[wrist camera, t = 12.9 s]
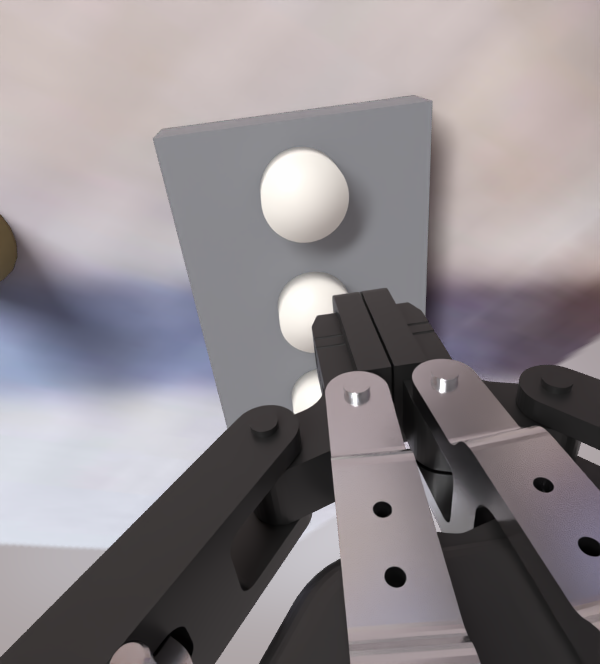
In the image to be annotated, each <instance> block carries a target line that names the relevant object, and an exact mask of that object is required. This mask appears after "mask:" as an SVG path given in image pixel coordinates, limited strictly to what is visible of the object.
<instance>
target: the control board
mask: <svg viewBox="0 0 600 664" xmlns="http://www.w3.org/2000/svg"><path fill="white" fill-rule="evenodd" d="M431 129H432V101H431V100H428V99H425V98H421V97H418V96H415V95H413V96H405V97H398V98H390V99H383V100H375V101H368V102H361V103H353V104H346V105H338V106H331V107H323V108H316V109H308V110H301V111H293V112H286V113H279V114H271V115H264V116H256V117H249V118H241V119H234V120H226V121H219V122H211V123H204V124H197V125H189V126H182V127H174V128H167V129H162V130H161V131H160V132H159V133H158V134H157V135H156V136H155V137H154V138H153V141H154V145H155V149H156V153H157V157H158V161H159V165H160V168H161V172H162V176H163V180H164V184H165V188H166V192H167V196H168V199H169V203H170V207H171V211H172V215H173V219H174V223H175V227H176V231H177V234H178V238H179V242H180V246H181V250H182V254H183V258H184V262H185V266H186V269H187V273H188V277H189V281H190V285H191V289H192V293H193V297H194V301H195V304H196V308H197V312H198V316H199V320H200V324H201V328H202V332H203V336H204V339H205V343H206V347H207V351H208V355H209V359H210V363H211V367H212V370H213V374H214V378H215V382H216V386H217V390H218V394H219V398H220V402H221V405H222V409H223V413H224V417H225V421H226V425H227V429H228V428H229V427H230V426H231V425H232V424H233V423H234V422H235V421H236V420H237V419H238V418H239V417H240V416H241V415H242V414H244V413H245V412H247V411H249V410H251V409H253V408H256V407H259V406H264V405H278V406H282V407H285V408H287V409H289V410H291V411H292V412H293V413H294V411H293V404H292V390H293V387H294V385H295V383H296V382H297V381H298V379H299V378H301V377H302V376H303V375H304V374H306V373H308V372H310V371H312V370H315V369H317V368H316V360H315V353H309V352H304V351H301V350H298V349H297V348H295V347H293V346H292V345H291V344H289V343H288V342H287V340H286V339H285V338H284V336H283V334H282V332H281V328H280V321H279V313H278V300H279V296H280V293H281V292H282V290H283V288H284V287H285V286H286V284H287V283H288V282H290V281H291V280H292V279H293V278H295V277H297V276H299V275H301V274H304V273H308V272H324V273H328V274H330V275H333V276H334V277H336V278H338V279H339V280H340V281H341V282H342V283H343V284H344V286H345V287H346V289H347V291H348V293H353V292H359V293H360V291H366V290H373V289H380V288H387V289H388V290H389V292H390V294H391V296H392V298H393V299H394V301H395V303H396V304H399V303H406V302H409V303H410V304H412V305H414V306H415V307H417V308H418V309H420V310H422V312H423V314H424V315H425V309H426V279H427V249H428V219H429V189H430V159H431ZM294 147H310V148H314V149H317V150H319V151H321V152H323V153H324V154H326V155H327V156H328V157H329V158H330V159H331V160H332V161H333V162H334V163H335V165H336V166H337V167H338V169H339V170H340V171H341V173H342V174H343V176H344V178H345V180H346V182H347V186H348V190H349V204H348V209H347V212H346V214H345V217H344V219H343V220H342V222H341V223H340V225H339V226H338V227H337V228H336V229H335V230H334V231H333V232H332V233H331V234H329V235H328V236H326V237H325V238H322V239H320V240H317V241H314V242H308V243H299V242H293V241H290V240H287V239H285V238H283V237H281V236H280V235H278V234H277V233H276V232H275V231H274V230H273V229H272V228H271V227H270V225H269V224H268V223H267V221H266V219H265V217H264V214H263V210H262V205H261V195H260V184H261V179H262V175H263V173H264V171H265V169H266V167H267V165H268V164H269V163H270V162H271V160H272V159H273V158H274V157H276V156H277V155H278V154H280V153H281V152H283V151H285V150H287V149H290V148H294Z"/></svg>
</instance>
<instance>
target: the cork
mask: <svg viewBox="0 0 600 664" xmlns="http://www.w3.org/2000/svg"><path fill="white" fill-rule="evenodd" d="M16 259H17V244H16V240H15V238H14V236H13V233H12V231H11V228H10V227H9V225H8V224H7V223H6V221H5V220H4V219H3V218H2V216H1V215H0V281H2V280H4V279H5V278H6V276H7V275H8V274H9V273H10V272H11V271H12V270H13V268H14V265H15V262H16Z"/></svg>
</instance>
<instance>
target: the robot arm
mask: <svg viewBox="0 0 600 664" xmlns="http://www.w3.org/2000/svg"><path fill="white" fill-rule="evenodd" d="M332 303H333V313H331V314H324V315H317V316H316V318H315V320H314V323H313V325H312V335H313V343H314V352H315V360H316V368H317V374H318V379H319V384H320V389H321V393H322V396H321V398H320V399H319V400H318V401H317V402H316V403H315V404H314V405H313V406H311V407H309V408H308V409H306V410H304V411H301V412H299V413H296V414H294V413H293V412H292V411H291V410H289V409H287V408H285V407H282V406H278V405H264V406H259V407H256V408H253V409H251V410H249V411H247V412H245V413H244V414H242V415H241V416H240V417H239V418H238V419H237V420H236V421H235V422H234V423H233V424H232V425H231V426H230V427H229V428H228V429H227V430H226V431H225V432H224V433H223V434H222V435H221V436H220V437H219V438H218V439H217V440H216V441H215V442H214V443H213V444H212V445H211V446H210V447H209V448H208V449H207V450H206V451H205V452H204V453H203V454H202V455H201V456H200V457H199V458H198V459H197V460H196V461H195V462H194V463H193V464H192V465H191V466H190V467H189V468H188V469H187V470H186V471H185V472H184V473H183V474H182V475H181V476H180V477H179V478H178V479H177V480H176V481H175V482H174V483H173V484H172V485H171V486H170V487H169V488H168V489H167V490H166V491H165V492H164V493H163V494H162V495H161V496H160V497H159V498H158V499H157V500H156V501H155V502H154V503H153V504H152V505H151V506H150V507H149V508H148V509H147V510H146V511H145V512H144V513H143V514H142V515H141V516H140V517H139V518H138V519H137V520H136V521H135V522H134V523H133V524H132V525H131V526H130V527H129V528H128V529H127V530H126V531H125V532H124V533H123V534H122V535H121V536H120V537H119V538H118V540H117V541H116V542H115V543H114V544H113V545H112V546H111V547H110V548H109V549H108V550H107V551H106V552H105V553H104V554H103V555H102V556H101V557H100V558H99V559H98V560H97V561H96V562H95V563H94V564H93V565H92V566H91V567H90V568H89V569H88V570H87V571H86V572H85V573H84V574H83V575H82V576H81V577H80V578H79V579H78V580H77V581H76V582H75V583H74V584H73V585H72V586H71V587H70V588H69V589H68V590H67V591H66V592H65V593H64V594H63V595H62V596H61V597H60V598H59V599H58V600H57V601H56V602H55V603H54V604H53V605H52V606H51V607H50V608H49V609H48V610H47V611H46V612H45V613H44V614H43V615H42V616H41V617H40V618H39V619H38V620H37V621H36V622H35V623H34V624H33V625H32V626H31V627H30V628H29V629H28V630H27V631H26V632H25V633H24V634H23V635H22V636H21V637H20V638H19V639H18V640H17V641H16V642H15V643H14V644H13V645H12V646H11V647H10V648H9V649H8V650H7V651H6V652H5V653H4V654H3V655H2V656H1V657H0V664H215V662H216V661H217V660H218V658H219V657H220V655H221V653H222V652H223V651H224V649H225V648H226V646H227V645H228V643H229V642H230V640H231V639H232V637H233V636H234V634H235V633H236V631H237V630H238V628H239V627H240V625H241V624H242V622H243V621H244V620H245V618H246V617H247V615H248V614H249V612H250V611H251V609H252V608H253V606H254V605H255V603H256V602H257V600H258V599H259V597H260V595H261V594H262V593H263V591H264V590H265V588H266V587H267V585H268V584H269V582H270V581H271V579H272V578H273V576H274V575H275V574H276V572H277V570H278V569H279V568H280V566H281V564H282V563H283V561H284V560H285V559H286V557H287V556H288V554H289V553H290V551H291V550H292V548H293V547H294V545H295V544H296V542H297V541H298V539H299V538H300V536H301V535H302V533H303V532H304V530H305V529H306V527H307V526H308V524H309V522H310V520H311V517H312V513H313V512H315V511H317V510H319V509H321V508H323V507H325V506H327V505H329V504H331V503H333V502H335V505H336V515H337V525H338V536H339V546H340V557H341V558H340V559H338V560H337V561H335V562H333V563H332V564H330V565H328V566H327V567H325V568H324V569H323V570H322V571H321V572H319V573H318V574H317V575H316V576H314V578H313V579H312V580H311V581H310V582H309V583H308V584H307V585H306V586H305V587H304V589H303V590H302V591H301V593H300V594H299V595H298V596H297V598H296V600H295V601H294V603H293V605H292V606H291V608H290V610H289V612H288V614H287V615H286V617H285V619H284V621H283V622H282V624H281V626H280V627H279V629H278V631H277V633H276V635H275V637H274V638H273V640H272V642H271V643H270V645H269V647H268V649H267V650H266V652H265V654H264V656H263V657H262V659H261V661H260V663H259V664H600V466H598V465H596V464H594V463H592V462H590V461H588V460H585V459H583V458H581V457H579V456H577V454H578V451H579V447H580V444H581V442H583V443H585V444H587V445H589V446H592V447H594V448H596V449H598V450H600V380H599V379H596V378H593V377H591V376H588V375H585V374H582V373H580V372H577V371H574V370H571V369H568V368H565V367H561V366H555V365H539V366H534V367H531V368H529V369H527V370H525V371H524V372H523V373H522V374H521V376H520V379H519V384H515V383H501V382H490V381H484V380H481V379H480V378H479V376H478V375H477V374H476V373H475V371H474V370H473V369H472V368H470V367H469V366H467V365H465V364H464V363H461V362H459V361H455V360H452V358H451V357H450V355H449V353H448V352H447V350H446V349H445V347H444V345H443V344H442V342H441V341H440V339H439V337H438V336H437V334H436V333H435V332H434V330H433V328H432V326H431V325H430V323H428V320H427V318H426V317H425V315H424V314H423V312H422V310H420V309H418V308H417V307H415V306H414V305H412V304H410V303H409V302H406V303H399V304H396V303H395V301H394V299H393V298H392V296H391V294H390V292H389V290H388V289H387V288H380V289H373V290H366V291H360V293H359V292H353V293H346V294H339V295H333V296H332ZM407 441H408V444H409V446H410V449H406V448H405V445H404V442H407ZM429 506H430V508H431V510H432V512H433V514H434V516H435V519H436V521H437V523H438V525H439V527H440V529H441V531H442V532H436V528H435V525H434V521H433V518H432V515H431V511H430V508H429Z"/></svg>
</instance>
